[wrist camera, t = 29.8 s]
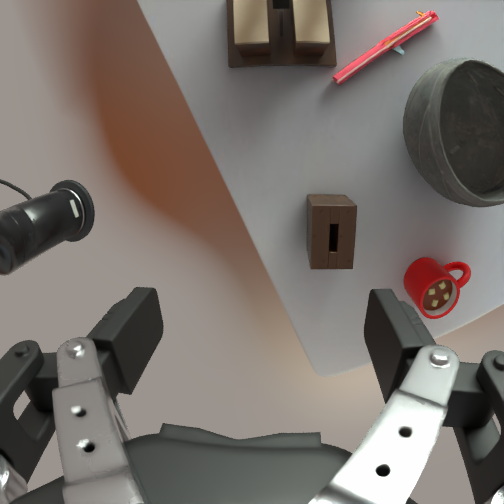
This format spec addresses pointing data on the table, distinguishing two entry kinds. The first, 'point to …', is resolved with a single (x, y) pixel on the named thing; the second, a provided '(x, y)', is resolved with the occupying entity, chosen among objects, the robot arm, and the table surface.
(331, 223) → the knife block
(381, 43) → the pink plastic rod
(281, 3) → the black block with pin
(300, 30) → the slotted block
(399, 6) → the table surface
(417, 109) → the bowl
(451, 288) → the mug
